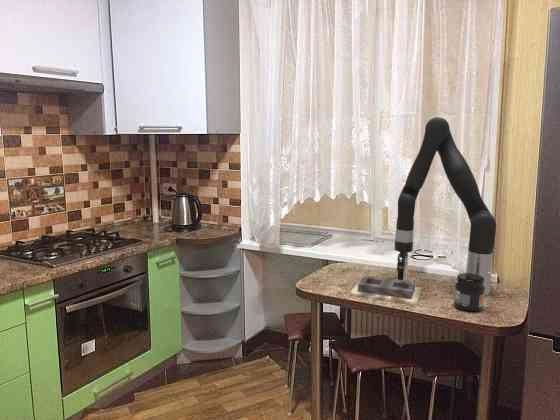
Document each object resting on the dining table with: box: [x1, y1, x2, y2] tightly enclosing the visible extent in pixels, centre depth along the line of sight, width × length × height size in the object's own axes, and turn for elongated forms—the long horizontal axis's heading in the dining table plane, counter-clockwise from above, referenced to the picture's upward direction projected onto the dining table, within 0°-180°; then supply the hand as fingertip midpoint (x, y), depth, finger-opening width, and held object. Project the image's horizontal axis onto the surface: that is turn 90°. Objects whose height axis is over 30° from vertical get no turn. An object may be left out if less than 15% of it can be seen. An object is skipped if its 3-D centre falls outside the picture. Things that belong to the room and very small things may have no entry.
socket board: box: [349, 275, 423, 306], centre depth 195 cm, size 26×18×4 cm
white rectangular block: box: [395, 262, 409, 281], centre depth 206 cm, size 4×4×9 cm
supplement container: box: [453, 272, 485, 312], centre depth 180 cm, size 10×10×12 cm
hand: (401, 277), depth 206 cm, fingers open, 7 cm apart
